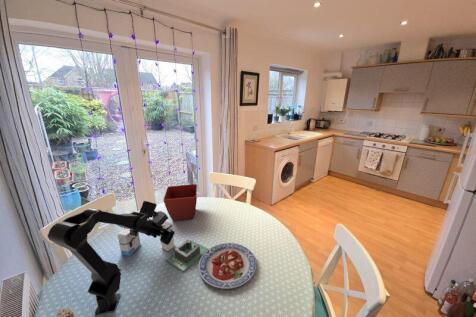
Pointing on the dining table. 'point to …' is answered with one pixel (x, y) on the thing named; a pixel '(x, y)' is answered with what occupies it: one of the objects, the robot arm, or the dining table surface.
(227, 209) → the dining table surface
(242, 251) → the ceramic plate
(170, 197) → the plant pot
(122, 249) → the ink box
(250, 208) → the dining table surface
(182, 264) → the header board
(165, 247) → the keyed plug
